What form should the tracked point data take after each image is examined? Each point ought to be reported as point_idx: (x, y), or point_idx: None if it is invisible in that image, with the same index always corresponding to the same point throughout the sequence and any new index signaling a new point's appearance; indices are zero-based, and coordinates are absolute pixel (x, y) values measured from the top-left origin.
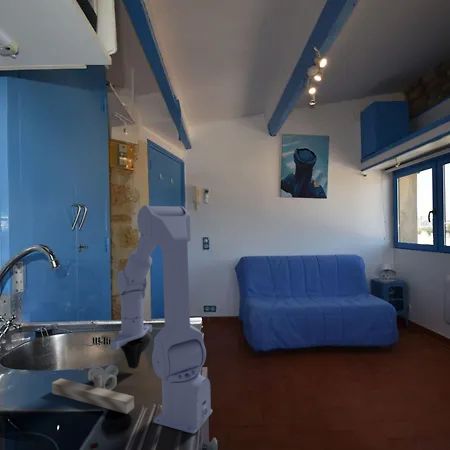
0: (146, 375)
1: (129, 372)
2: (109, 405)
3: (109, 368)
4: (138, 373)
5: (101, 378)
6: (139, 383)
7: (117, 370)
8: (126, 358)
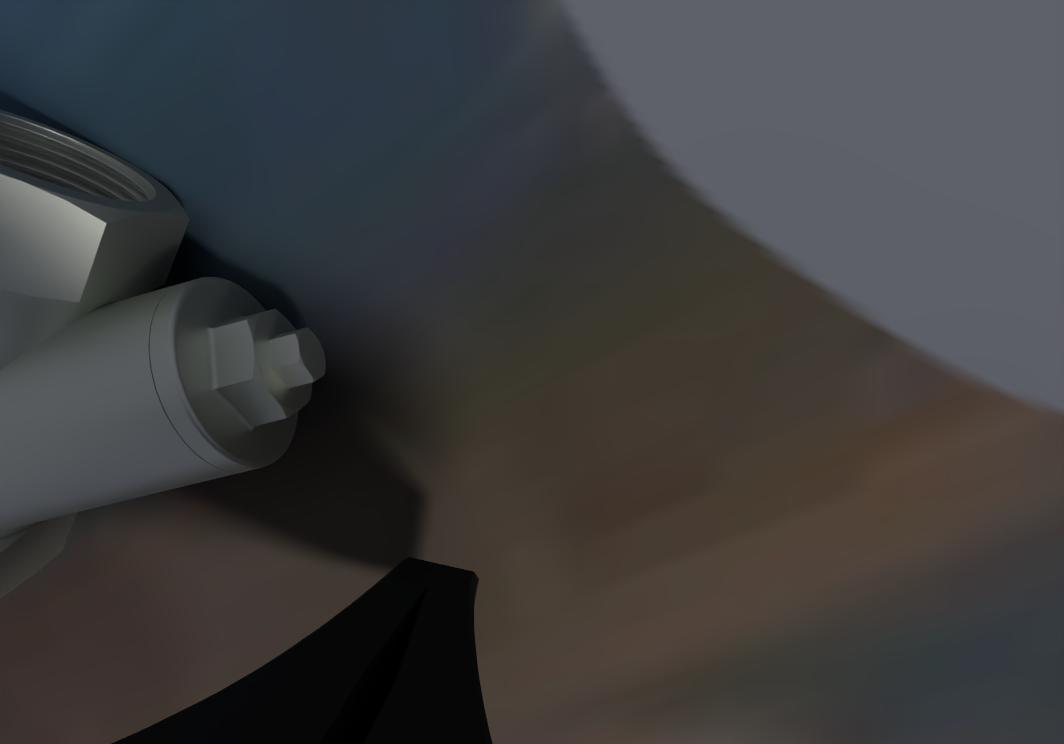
0: None
1: (442, 516)
2: None
3: (28, 445)
4: None
5: None
6: None
7: (226, 475)
8: (320, 630)
